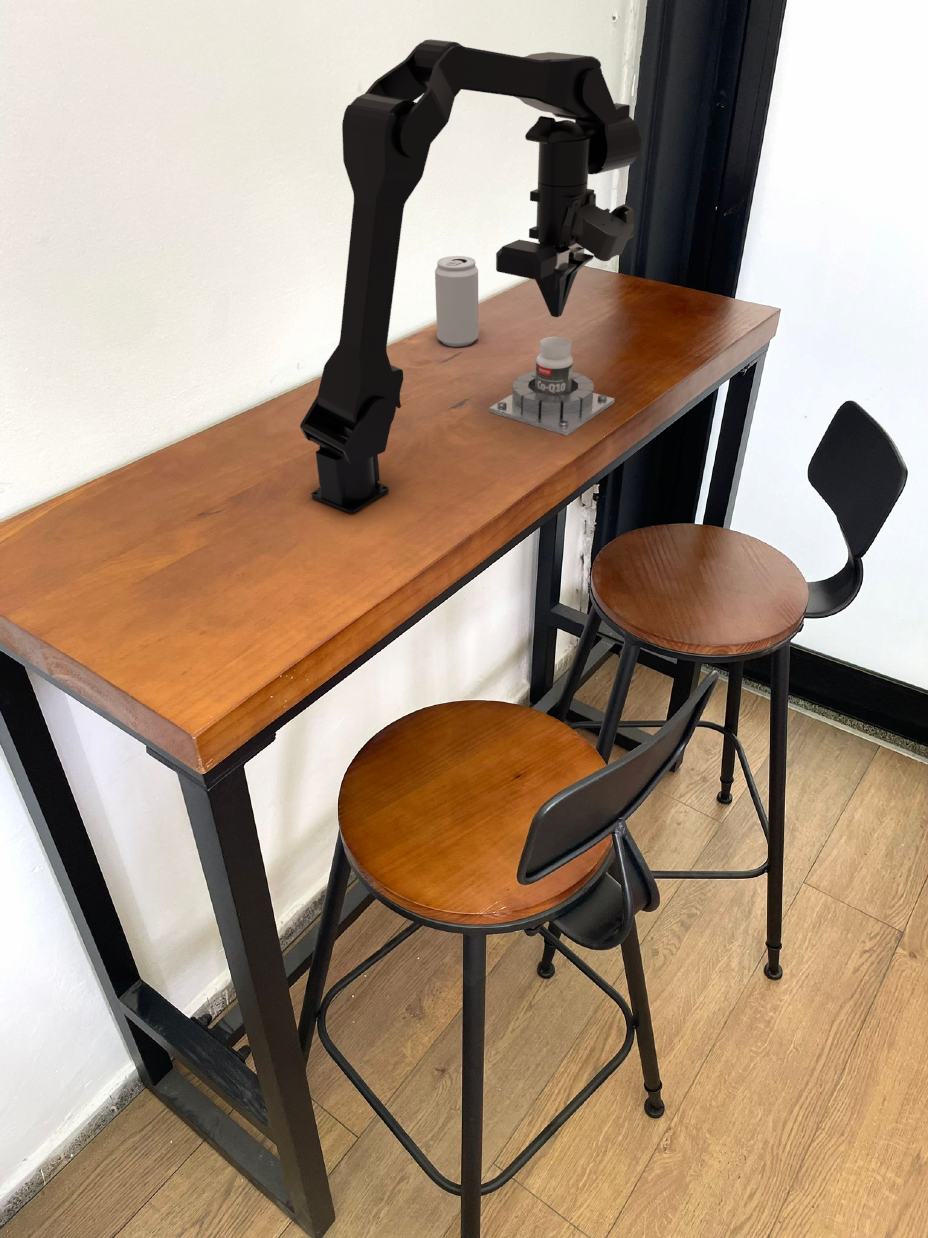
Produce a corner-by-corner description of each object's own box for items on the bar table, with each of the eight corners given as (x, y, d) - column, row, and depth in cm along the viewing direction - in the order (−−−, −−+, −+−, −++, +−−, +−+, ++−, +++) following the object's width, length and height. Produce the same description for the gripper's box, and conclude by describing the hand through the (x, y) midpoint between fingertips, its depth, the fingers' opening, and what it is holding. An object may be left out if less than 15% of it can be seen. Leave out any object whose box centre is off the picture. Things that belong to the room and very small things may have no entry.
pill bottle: (532, 409, 121) (534, 347, 116) (536, 394, 125) (539, 334, 120) (568, 412, 120) (571, 349, 115) (572, 397, 124) (575, 336, 119)
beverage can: (486, 337, 143) (486, 258, 136) (464, 351, 139) (462, 269, 132) (451, 330, 146) (450, 251, 139) (429, 343, 142) (426, 263, 135)
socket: (566, 435, 116) (567, 412, 114) (489, 411, 122) (489, 389, 120) (614, 402, 124) (616, 380, 122) (539, 381, 130) (540, 360, 128)
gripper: (580, 208, 96) (571, 353, 106) (663, 174, 108) (649, 307, 117) (493, 193, 102) (492, 333, 111) (582, 163, 113) (574, 291, 123)
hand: (556, 315), depth 115 cm, fingers closed
